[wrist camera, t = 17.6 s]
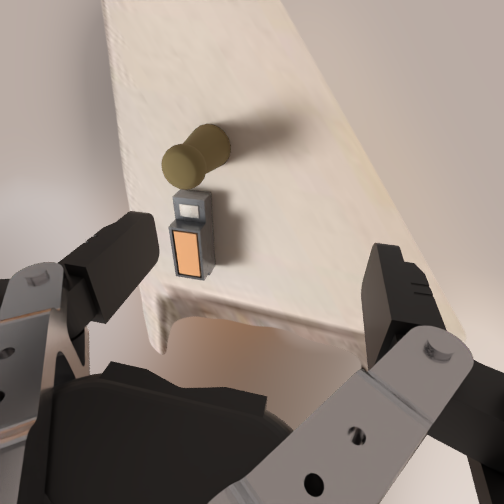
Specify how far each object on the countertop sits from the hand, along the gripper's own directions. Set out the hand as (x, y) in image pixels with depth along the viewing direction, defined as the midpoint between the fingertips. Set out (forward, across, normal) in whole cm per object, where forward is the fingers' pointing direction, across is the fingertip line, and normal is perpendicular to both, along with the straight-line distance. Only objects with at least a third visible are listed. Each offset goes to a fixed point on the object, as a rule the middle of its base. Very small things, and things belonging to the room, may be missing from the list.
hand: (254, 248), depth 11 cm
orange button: (+30, +16, +22) cm, 40 cm away
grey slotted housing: (+33, +16, +20) cm, 42 cm away
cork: (+33, +14, +6) cm, 37 cm away
